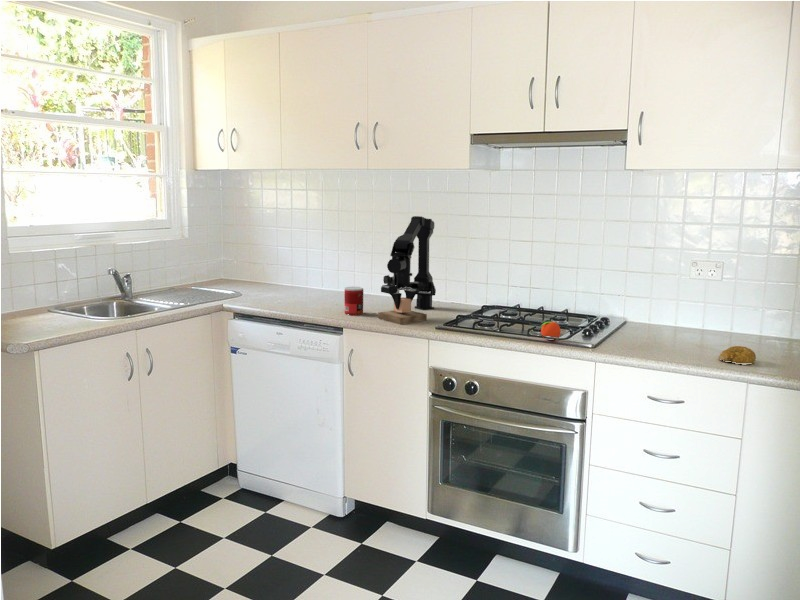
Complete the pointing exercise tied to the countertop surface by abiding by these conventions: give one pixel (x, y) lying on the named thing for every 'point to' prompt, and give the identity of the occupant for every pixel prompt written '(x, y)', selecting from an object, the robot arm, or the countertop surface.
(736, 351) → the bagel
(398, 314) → the base board
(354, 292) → the canned food
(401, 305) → the block
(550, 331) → the clementine
